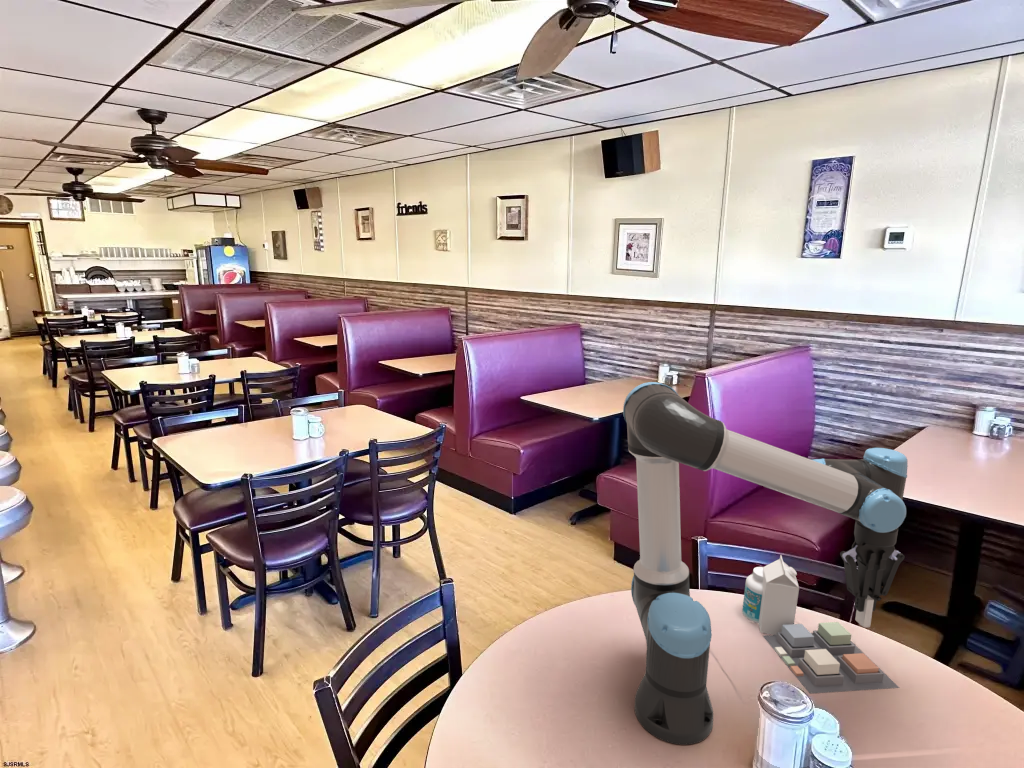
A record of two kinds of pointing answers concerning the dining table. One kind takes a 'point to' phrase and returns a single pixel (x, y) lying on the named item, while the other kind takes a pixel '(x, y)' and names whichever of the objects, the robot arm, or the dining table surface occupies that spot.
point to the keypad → (827, 682)
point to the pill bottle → (753, 595)
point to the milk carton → (778, 597)
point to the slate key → (797, 635)
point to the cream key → (821, 661)
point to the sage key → (834, 633)
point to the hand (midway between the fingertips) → (862, 623)
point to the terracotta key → (860, 663)
